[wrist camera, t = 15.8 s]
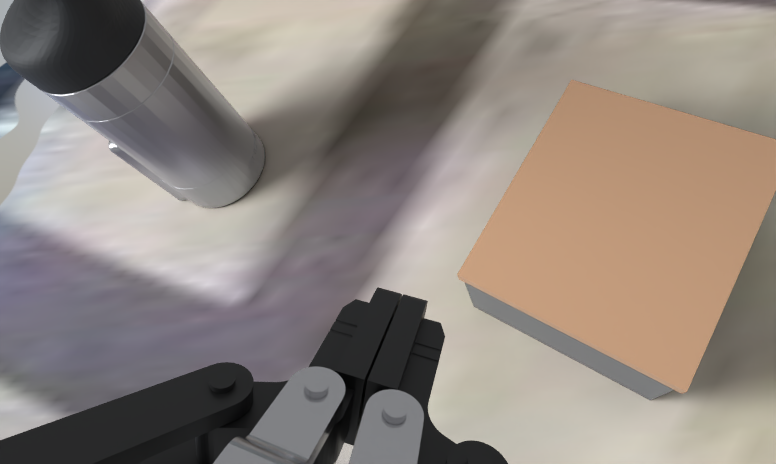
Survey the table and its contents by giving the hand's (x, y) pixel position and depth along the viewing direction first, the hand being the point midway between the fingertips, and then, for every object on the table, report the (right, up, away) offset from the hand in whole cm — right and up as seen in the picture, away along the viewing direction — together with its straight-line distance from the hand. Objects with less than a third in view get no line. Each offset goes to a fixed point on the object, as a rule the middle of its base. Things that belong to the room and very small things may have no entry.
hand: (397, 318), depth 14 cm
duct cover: (+14, +3, +17) cm, 23 cm away
